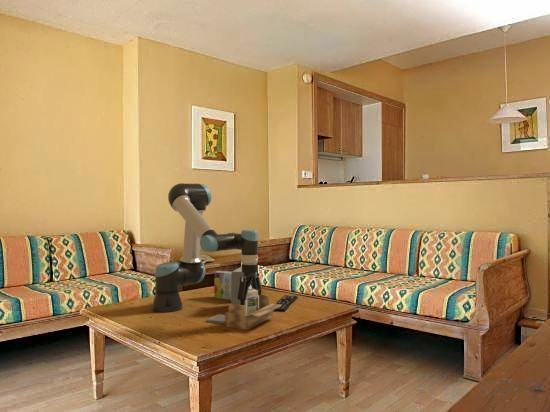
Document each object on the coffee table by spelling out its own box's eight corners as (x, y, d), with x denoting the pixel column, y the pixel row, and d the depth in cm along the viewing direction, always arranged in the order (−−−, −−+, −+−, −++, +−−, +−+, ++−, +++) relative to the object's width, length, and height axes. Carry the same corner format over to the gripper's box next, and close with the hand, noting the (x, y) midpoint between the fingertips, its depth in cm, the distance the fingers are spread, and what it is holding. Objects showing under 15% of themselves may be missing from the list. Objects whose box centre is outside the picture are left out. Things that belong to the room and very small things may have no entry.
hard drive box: (245, 312, 218) (245, 272, 217) (230, 311, 219) (230, 271, 219) (253, 304, 233) (253, 267, 233) (239, 304, 235) (239, 266, 234)
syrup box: (247, 323, 197) (246, 291, 197) (241, 320, 202) (241, 289, 202) (258, 322, 200) (258, 290, 200) (253, 318, 205) (252, 288, 205)
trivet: (206, 321, 201) (206, 319, 201) (218, 316, 210) (218, 314, 210) (224, 324, 197) (224, 321, 197) (236, 318, 206) (236, 316, 206)
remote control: (297, 298, 249) (297, 295, 249) (284, 313, 218) (284, 309, 218) (284, 298, 251) (284, 294, 251) (269, 312, 220) (269, 308, 220)
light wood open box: (225, 326, 193) (225, 303, 193) (251, 313, 214) (251, 293, 214) (258, 331, 186) (258, 307, 186) (282, 317, 207) (282, 296, 207)
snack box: (250, 300, 244) (249, 273, 243) (244, 302, 239) (244, 274, 239) (219, 296, 255) (219, 270, 254) (213, 298, 250) (213, 271, 250)
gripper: (243, 267, 189) (244, 318, 189) (268, 260, 209) (268, 306, 210) (229, 266, 192) (229, 316, 192) (254, 260, 213) (255, 305, 213)
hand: (250, 311), depth 201 cm, fingers open, 11 cm apart
